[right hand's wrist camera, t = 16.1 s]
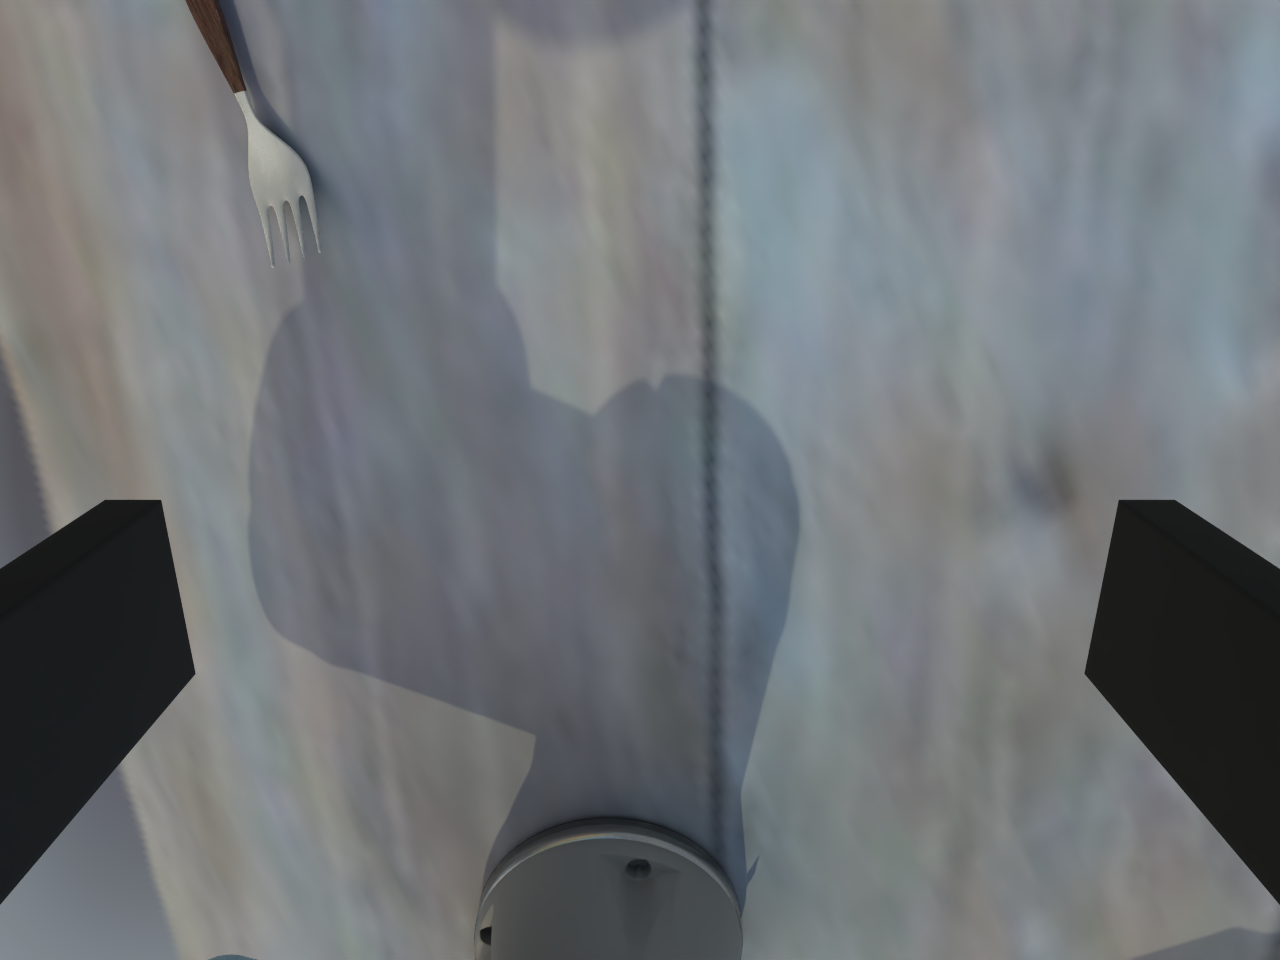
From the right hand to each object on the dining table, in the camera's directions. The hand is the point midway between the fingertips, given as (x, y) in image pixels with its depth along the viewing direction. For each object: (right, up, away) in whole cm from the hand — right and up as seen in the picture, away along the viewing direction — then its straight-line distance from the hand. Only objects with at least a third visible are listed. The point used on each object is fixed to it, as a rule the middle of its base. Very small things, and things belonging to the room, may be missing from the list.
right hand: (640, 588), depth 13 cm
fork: (-17, +19, +24) cm, 35 cm away
